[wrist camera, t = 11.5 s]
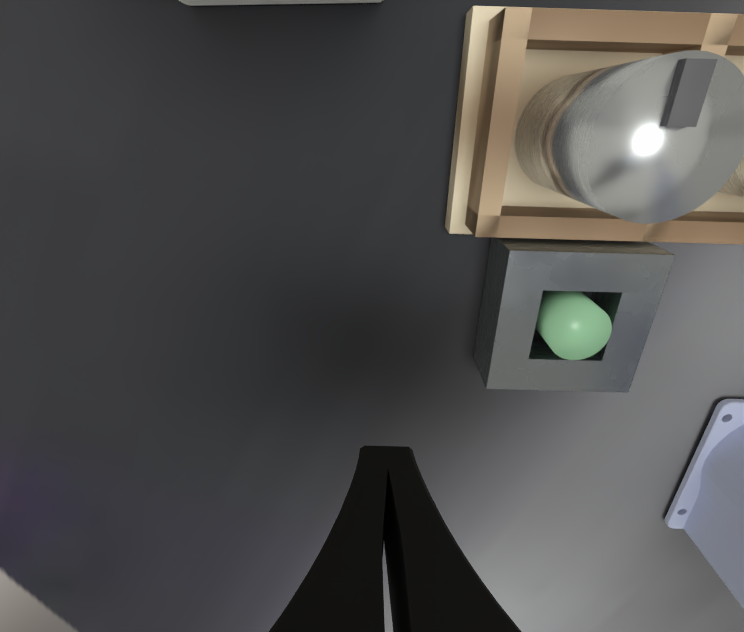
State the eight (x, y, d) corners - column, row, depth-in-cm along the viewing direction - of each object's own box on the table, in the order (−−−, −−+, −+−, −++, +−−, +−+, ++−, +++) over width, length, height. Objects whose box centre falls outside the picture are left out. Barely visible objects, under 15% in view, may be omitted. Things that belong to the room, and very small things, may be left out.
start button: (572, 328, 20) (602, 361, 18) (520, 327, 20) (542, 359, 18) (584, 279, 19) (619, 306, 17) (530, 278, 19) (555, 304, 17)
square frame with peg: (598, 359, 22) (628, 392, 19) (473, 356, 22) (486, 388, 19) (634, 236, 19) (675, 255, 16) (491, 232, 19) (509, 250, 16)
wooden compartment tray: (768, 235, 19) (839, 257, 16) (445, 226, 19) (457, 246, 16) (859, 25, 16) (970, 5, 13) (466, 13, 15) (487, -11, 13)
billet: (607, 190, 17) (726, 228, 11) (507, 188, 17) (575, 224, 11) (636, 75, 15) (794, 50, 9) (524, 72, 15) (616, 45, 9)
